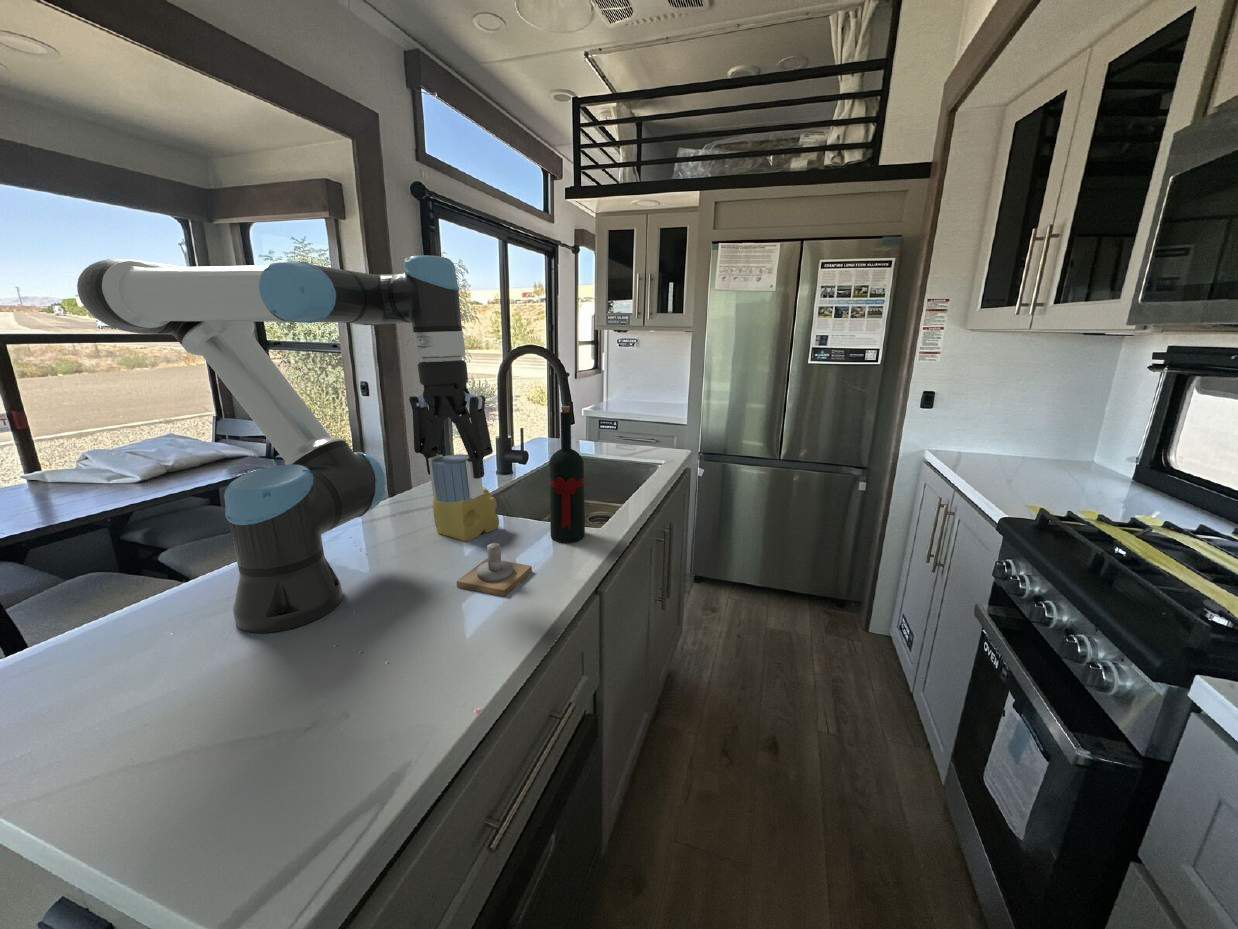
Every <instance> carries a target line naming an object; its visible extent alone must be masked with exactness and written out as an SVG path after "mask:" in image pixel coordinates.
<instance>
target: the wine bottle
mask: <svg viewBox="0 0 1238 929" xmlns="http://www.w3.org/2000/svg"><path fill="white" fill-rule="evenodd" d="M559 414H560V418H559V419H560V449H558V450H556V452H554V453H553V454H552V455H551V457H550V458H549V461H548V473H549V475H548V476H549V477H548V478H549V521H550V523H549V524H550V528H549V530H550V539H551V540H552V541H553V542H555V543H560V544H571V543H577V542H580V541H583V539H584V538H585V536H586V530H585V529H586V525H585V524H586V523H585V522H586V521H585V519H586V518H585V515H586V514H585V511H586V510H585V471H584V470H585V469H584V468H585V464H584V463H585V462H584V459H583V457H582V456H581V455H580V453H579V452H578V451H576V450H575V449H573V448H572V422H571V421H572V418H571V416H572V414H571V411H570V406H569V405H562V406H561V411H560V412H559Z"/></svg>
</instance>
